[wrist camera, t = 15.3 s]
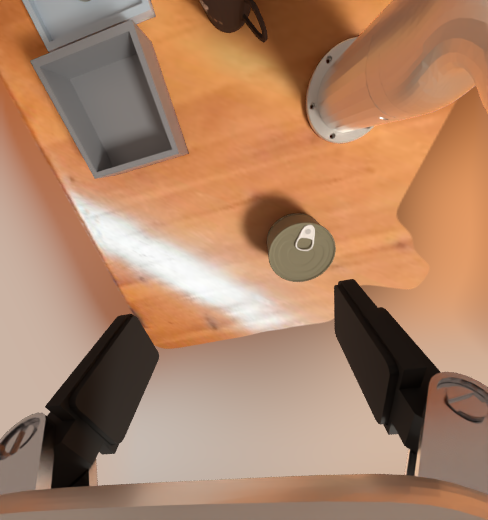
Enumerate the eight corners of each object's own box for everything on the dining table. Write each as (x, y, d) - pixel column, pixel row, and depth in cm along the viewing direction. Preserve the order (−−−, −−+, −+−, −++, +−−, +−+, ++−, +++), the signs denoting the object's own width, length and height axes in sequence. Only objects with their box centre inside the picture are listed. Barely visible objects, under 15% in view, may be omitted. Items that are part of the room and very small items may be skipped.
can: (261, 261, 45) (263, 278, 39) (271, 208, 40) (275, 218, 34) (313, 267, 46) (323, 285, 40) (331, 216, 40) (345, 227, 34)
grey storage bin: (151, 42, 29) (131, 19, 24) (188, 153, 36) (179, 153, 31) (64, 75, 31) (30, 60, 26) (115, 175, 38) (95, 178, 33)
